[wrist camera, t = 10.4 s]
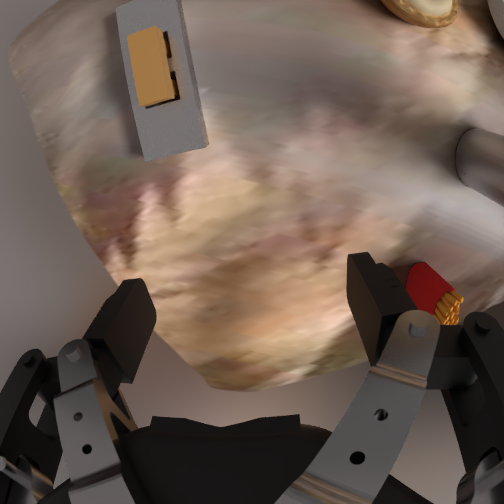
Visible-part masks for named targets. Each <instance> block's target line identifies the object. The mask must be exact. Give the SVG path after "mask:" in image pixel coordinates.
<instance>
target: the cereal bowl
mask: <svg viewBox="0 0 504 504" xmlns="http://www.w3.org/2000/svg"><path fill="white" fill-rule="evenodd" d="M487 1H488V6H489V9H490V12H491V15H492V18H493V20H494V22H495V25H496V27H497V29H498V31H499V33H500V34H501V36H502V37H503V39H504V0H487Z"/></svg>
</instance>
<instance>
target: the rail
mask: <svg viewBox="0 0 504 504" xmlns="http://www.w3.org/2000/svg"><path fill="white" fill-rule="evenodd" d="M116 16H117V24H118V31H119V38H120V45H121V51H122V57H123V63H124V68H125V74H126V79H127V84H128V90H129V95H130V99H131V104H132V109H133V113H134V118H135V122H136V127H137V131H138V135H139V139H140V143H141V147H142V151H143V155H144V159H145V162H147V161H151V160H155V159H159V158H162V157H166V156H170V155H174V154H178V153H183V152H187V151H191V150H196V149H200V148H205V147H206V146H207V145H209V141H208V136H207V131H206V126H205V122H204V117H203V112H202V107H201V102H200V97H199V92H198V87H197V82H196V77H195V72H194V67H193V62H192V57H191V52H190V47H189V41H188V36H187V31H186V26H185V20H184V15H183V9H182V4H181V0H133V1H130V2H128V3H125V4H123V5H121V6H118V7H116ZM153 26H156V27H158V28H159V29H160V30H161V31H162V33H163V39H164V40H165V39H168V38H169V42H170V48H171V53H172V58H168V59H167V61H168V66H169V72H170V76H173V75H176V79H177V84H178V89H179V94H180V100H176V101H173V102H169V103H165V104H162V105H159V106H155V107H154V105H149V106H139V102H138V97H137V92H136V87H135V81H134V76H133V70H132V65H131V59H130V53H129V47H128V40H127V36H128V35H131V34H133V33H136V32H139V31H141V30H144V29H147V28H150V27H153Z"/></svg>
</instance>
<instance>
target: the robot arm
mask: <svg viewBox="0 0 504 504" xmlns="http://www.w3.org/2000/svg"><path fill="white" fill-rule="evenodd" d="M456 168H457V172H458V175H459V177H460V179H461V180H462V182H463V183H464V184H465V185H467V186H469V187H470V188H472V189H474V190H476V191H478V192H479V193H481V194H483V195H484V196H486V197H488V198H489V199H491V200H493V201H495V202H496V203H498V204H499V205H501V206H503V207H504V136H503V135H499V134H496V133H493V132H489V131H486V130H482V129H477V128H474V129H470V130H468V131H467V132H466V133H465V134H464V135H463V136H462V137H461V139H460V141H459V143H458V146H457V150H456ZM347 299H348V304H349V307H350V309H351V312H352V314H353V317H354V320H355V322H356V325H357V328H358V331H359V333H360V336H361V339H362V342H363V345H364V348H365V350H366V353H367V356H368V359H369V362H370V365H371V369H370V370H369V372H368V374H367V376H366V378H365V379H364V381H363V383H362V385H361V387H360V389H359V390H358V392H357V394H356V395H355V397H354V399H353V401H352V402H351V404H350V406H349V407H348V409H347V411H346V412H345V414H344V416H343V417H342V419H341V420H340V422H339V424H338V425H337V426H336V428H335V430H334V431H333V432H330V431H328V430H326V429H323V428H320V427H316V426H311V425H305V424H300V415H299V414H298V415H287V416H277V417H263V418H257V419H254V420H250V421H246V422H243V423H238V424H234V425H230V426H225V427H216V426H212V425H208V424H204V423H200V422H197V421H193V420H189V419H186V418H171V417H157V416H153V417H152V420H151V424H150V426H147V427H143V428H139V429H138V427H137V425H136V424H135V421H134V419H133V417H132V414H131V412H130V410H129V408H128V405H127V403H126V401H125V398H124V396H123V393H122V391H121V390H120V389H119V386H120V383H130V384H132V383H133V381H134V378H135V375H136V372H137V370H138V367H139V364H140V362H141V359H142V357H143V354H144V351H145V349H146V346H147V344H148V341H149V339H150V336H151V334H152V331H153V329H154V326H155V324H156V310H155V307H154V304H153V302H152V300H151V297H150V295H149V292H148V290H147V287H146V285H145V282H144V281H143V279H141V278H137V279H128V280H124V281H123V282H122V283H121V285H120V286H119V288H118V289H117V291H116V292H115V293H114V294H113V295H111V296H110V297H109V298H108V299H107V300H106V301H105V303H104V304H103V306H102V307H101V310H99V312H98V314H97V317H95V318H94V320H93V322H92V323H91V325H90V326H89V328H88V330H87V331H86V333H85V335H84V336H83V338H82V339H75V340H72V341H71V342H68V343H67V344H65V345H64V346H63V347H62V349H61V350H60V351H59V353H58V356H56V357H51V358H47V359H46V357H45V356H44V354H43V353H42V352H41V350H39V349H32V350H29V351H27V352H26V353H25V354H24V355H22V357H21V358H20V359H19V361H18V362H17V365H16V366H15V367H14V370H13V371H12V373H11V374H10V376H9V378H8V380H7V382H6V384H5V385H4V387H3V389H2V391H1V393H0V504H433V503H432V502H430V501H429V500H427V499H425V498H424V497H422V496H421V495H419V494H418V493H416V492H415V491H413V490H412V489H410V488H409V487H407V486H406V485H404V484H403V483H401V482H400V481H399V480H397V479H396V478H394V477H393V476H392V475H390V474H389V473H390V471H391V469H392V467H393V465H394V463H395V461H396V459H397V457H398V455H399V453H400V451H401V449H402V447H403V444H404V442H405V440H406V438H407V435H408V433H409V431H410V428H411V426H412V424H413V421H414V419H415V416H416V414H417V411H418V408H419V405H420V403H421V400H422V397H423V395H424V391H425V389H440V390H441V392H442V395H443V398H444V401H445V403H446V406H447V409H448V412H449V415H450V418H451V421H452V424H453V427H454V431H455V434H456V437H457V441H458V444H459V448H460V451H461V455H462V459H463V463H464V467H465V470H466V473H465V474H464V476H463V477H462V478H461V480H460V482H459V484H458V487H457V500H456V504H504V330H503V329H502V327H501V326H500V324H499V323H498V322H497V320H496V319H495V318H494V317H492V316H491V315H489V314H487V313H484V312H472V313H470V314H468V315H467V316H466V317H465V319H464V322H463V324H462V325H441V324H439V322H438V320H437V319H436V318H435V317H434V316H433V315H432V314H430V313H428V312H425V311H422V310H418V308H417V307H416V305H415V303H414V302H413V300H412V299H411V297H410V296H409V294H408V292H407V291H406V289H405V288H404V287H403V286H402V283H401V282H400V280H398V277H397V276H396V274H395V273H394V271H393V270H392V269H391V268H389V267H388V266H386V265H385V264H383V263H378V264H376V263H375V262H374V260H373V259H372V257H371V256H370V254H369V253H368V252H362V253H354V254H349V255H348V258H347ZM37 394H38V396H39V397H40V398H41V399H42V400H43V401H44V402H45V403H46V405H45V407H44V409H43V412H42V414H41V417H40V419H39V422H38V424H37V427H35V426H34V425H33V424H32V423H31V421H30V419H29V410H30V407H31V405H32V403H33V401H34V399H35V396H36V395H37ZM62 453H64V457H65V461H66V465H67V469H68V472H69V476H70V478H69V479H67V480H66V481H65V482H63V483H62V484H61V485H59V486H58V487H57V488H56V489H54V490H53V484H54V481H55V477H56V473H57V470H58V466H59V463H60V459H61V456H62Z"/></svg>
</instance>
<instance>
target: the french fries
mask: <svg viewBox="0 0 504 504" xmlns="http://www.w3.org/2000/svg"><path fill="white" fill-rule="evenodd" d="M406 291H407V292H408V294H409V296H410V297H411V299H412V300H413V302H414V303H415V305H416V307H417V308H418V310H422V311H425V312H428V313H430V314H432V315H433V316H434V317H435V318H436V319H437V320H438V322H439V324H441V325H456V324H457V322H458V320H459V317H458V316H457V315H458V313H459V310H460V309H459V304H460V303H462V302H463V296H461V295H459V294H458V293H456V292H455V289H454V288H453V287H452V286H451V285H450V284H449V283H447V282H446V281H445V280H444V279H443V278H442V277H441V276H440V275H439V274H438V273H437V272H436V271H434V270H433V269H432V268H431V267H430V266H429V265H428V264H427V263H426V262H422V263H416V264H415V265H414V266H413V267H412V268H411V269H410V271H409V275H408V279H407V284H406Z"/></svg>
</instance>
